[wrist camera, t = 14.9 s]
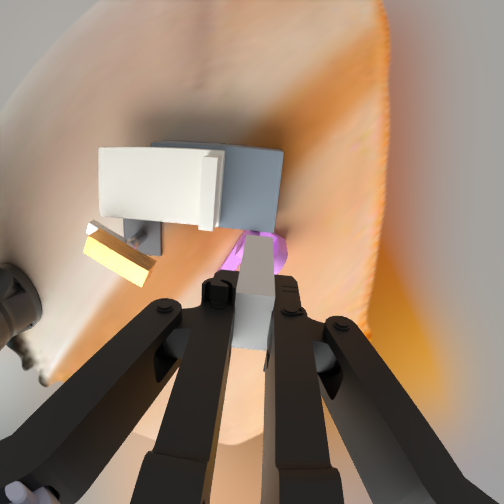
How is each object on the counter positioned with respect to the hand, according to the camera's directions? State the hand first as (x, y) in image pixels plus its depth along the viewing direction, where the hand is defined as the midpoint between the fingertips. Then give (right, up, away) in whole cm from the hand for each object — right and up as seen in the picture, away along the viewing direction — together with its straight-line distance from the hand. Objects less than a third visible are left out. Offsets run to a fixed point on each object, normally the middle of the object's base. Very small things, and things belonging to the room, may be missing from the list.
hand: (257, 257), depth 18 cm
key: (-18, +3, +25) cm, 31 cm away
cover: (-12, +9, +18) cm, 23 cm away
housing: (-8, +7, +24) cm, 26 cm away
